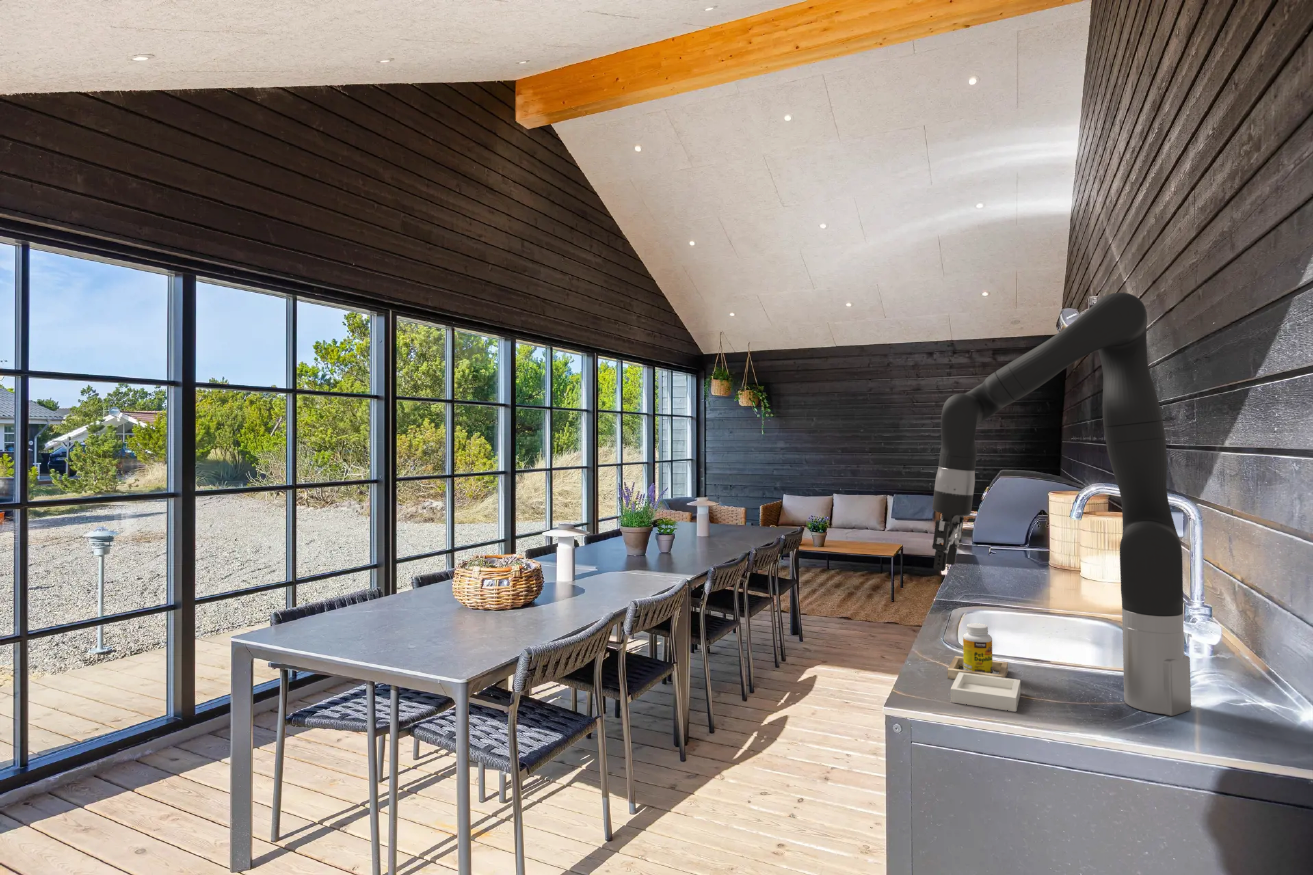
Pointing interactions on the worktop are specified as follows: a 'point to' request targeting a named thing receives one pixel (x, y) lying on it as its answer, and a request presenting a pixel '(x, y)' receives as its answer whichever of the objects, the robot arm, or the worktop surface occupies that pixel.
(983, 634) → the supplement bottle
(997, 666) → the square wooden frame
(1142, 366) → the robot arm
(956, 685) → the parts tray
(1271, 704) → the worktop surface
